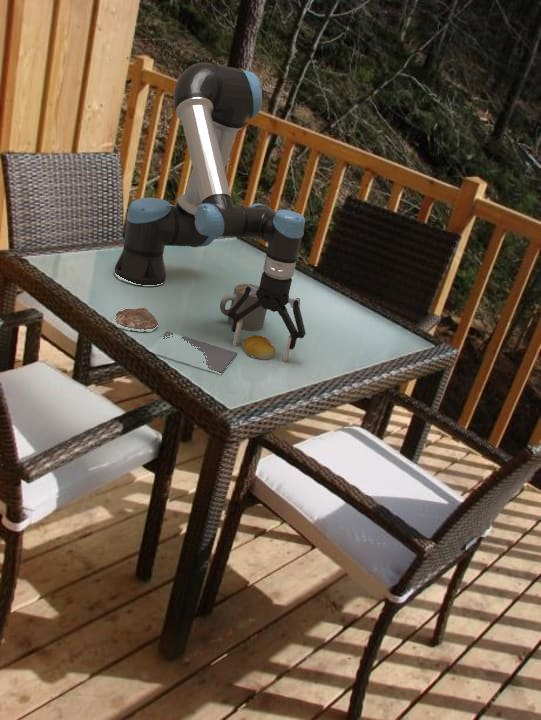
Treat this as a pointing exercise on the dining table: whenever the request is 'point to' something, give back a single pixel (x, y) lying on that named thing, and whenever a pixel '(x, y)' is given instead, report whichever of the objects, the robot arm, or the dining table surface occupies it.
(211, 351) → the mat
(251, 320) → the coffee mug
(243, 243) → the dining table surface
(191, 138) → the robot arm
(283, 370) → the dining table surface
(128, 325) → the shell
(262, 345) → the bread roll
